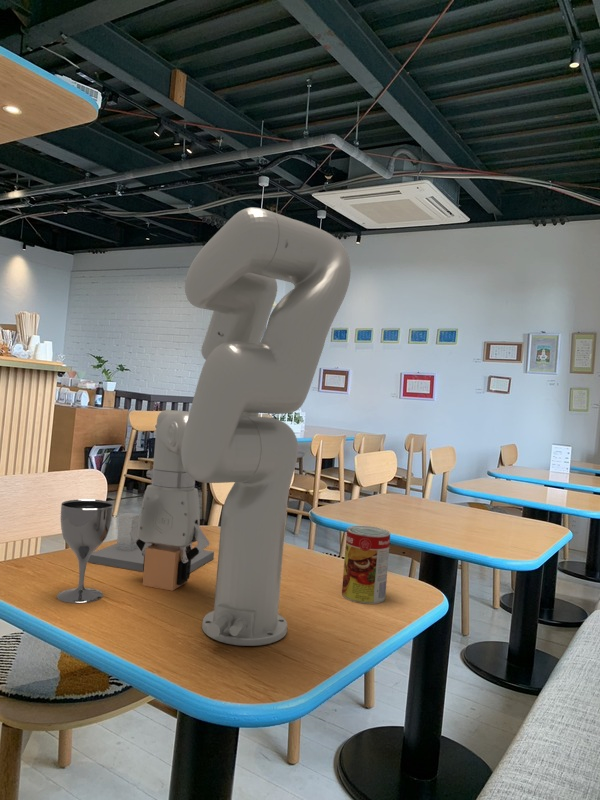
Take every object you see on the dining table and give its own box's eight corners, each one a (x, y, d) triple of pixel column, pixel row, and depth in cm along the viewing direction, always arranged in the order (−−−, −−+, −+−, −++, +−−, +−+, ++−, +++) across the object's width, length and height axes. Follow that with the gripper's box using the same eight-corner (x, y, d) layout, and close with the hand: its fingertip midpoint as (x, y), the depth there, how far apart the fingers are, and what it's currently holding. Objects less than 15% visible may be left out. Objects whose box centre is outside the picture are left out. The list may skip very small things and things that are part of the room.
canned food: (349, 586, 112) (354, 523, 112) (389, 594, 109) (394, 530, 109) (335, 598, 104) (341, 530, 104) (378, 607, 101) (384, 538, 101)
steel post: (129, 551, 118) (132, 516, 118) (116, 549, 119) (119, 514, 119) (137, 548, 121) (140, 514, 121) (124, 546, 122) (127, 512, 122)
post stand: (180, 578, 108) (184, 532, 108) (87, 562, 114) (90, 518, 114) (213, 558, 123) (216, 518, 123) (129, 545, 128) (132, 506, 128)
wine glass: (45, 602, 92) (53, 506, 92) (64, 586, 99) (71, 497, 99) (97, 605, 92) (104, 510, 92) (111, 589, 100) (118, 501, 100)
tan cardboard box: (172, 590, 101) (175, 552, 101) (142, 585, 103) (145, 547, 103) (187, 581, 107) (190, 545, 107) (158, 576, 108) (161, 540, 108)
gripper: (119, 476, 103) (111, 578, 103) (209, 487, 99) (200, 594, 99) (141, 472, 111) (134, 567, 111) (226, 482, 106) (218, 582, 106)
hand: (165, 579), depth 105 cm, fingers closed on tan cardboard box, 5 cm apart
